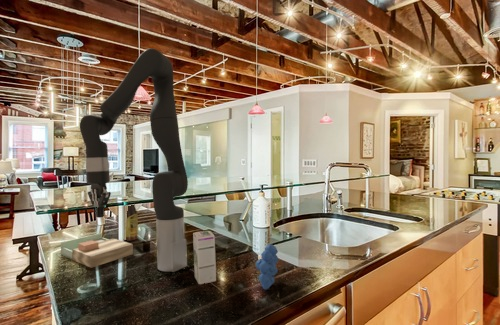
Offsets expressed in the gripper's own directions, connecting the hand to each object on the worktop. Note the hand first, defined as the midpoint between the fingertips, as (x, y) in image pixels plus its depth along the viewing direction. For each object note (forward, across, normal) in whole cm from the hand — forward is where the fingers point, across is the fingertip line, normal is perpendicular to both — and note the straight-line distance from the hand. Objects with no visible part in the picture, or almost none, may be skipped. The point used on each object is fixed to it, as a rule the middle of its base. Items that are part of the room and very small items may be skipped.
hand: (99, 217), depth 104 cm
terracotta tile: (+12, +7, +1) cm, 14 cm away
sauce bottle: (+16, +16, -21) cm, 32 cm away
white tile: (+14, +17, -7) cm, 23 cm away
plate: (+16, +4, -3) cm, 17 cm away
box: (+16, +16, -2) cm, 23 cm away
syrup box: (+18, -43, -10) cm, 47 cm away
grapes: (+18, -61, -18) cm, 66 cm away
